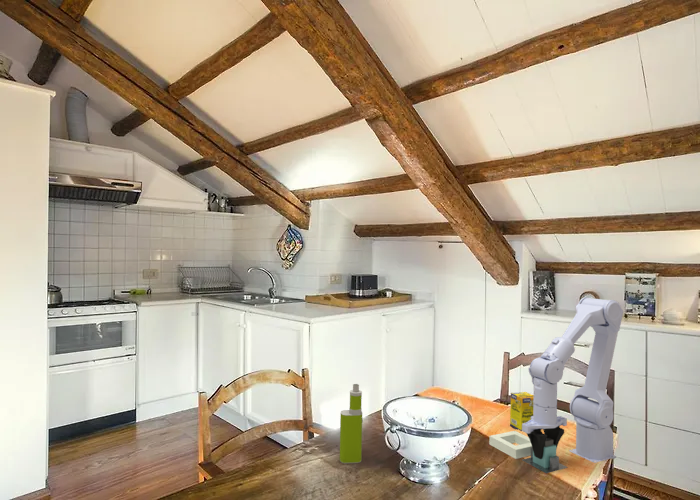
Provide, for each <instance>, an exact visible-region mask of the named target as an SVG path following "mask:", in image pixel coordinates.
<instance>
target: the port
mask: <svg viewBox="0 0 700 500" xmlns="http://www.w3.org/2000/svg"><path fill="white" fill-rule="evenodd" d="M488 442H489V443H488V444H489V445H490V446H492V447H494V448H495V449H497V450H499V451H500V452H503V453H505V454H506V455H508V456H509V457H511V458H513V459H515V460H518V459H523V458H525V457H531V447H532V444H531V442H530V439H529V437H528V435H525V434H523V433H520V432H518V431H517V430H512V431H505V432H502V433H497V434H492V435H489V441H488ZM514 443H515V444H517V445H515V444H514Z"/></svg>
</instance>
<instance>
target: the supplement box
mask: <svg viewBox="0 0 700 500" xmlns="http://www.w3.org/2000/svg"><path fill="white" fill-rule="evenodd" d="M533 400H534V394H531V393H529V392H526V391H524V392H523V391H522V392H511V393H510V407H509V409H510V413H509V414H510V415H509V416H510V417H509V426H510V427H511V426H512V428H513V429H515V430H516V429H517V430H518V431H520V432H523V431H522V424H523V423H526V422H528V421H529V420H531V416H533ZM517 430H516V431H517Z"/></svg>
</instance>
